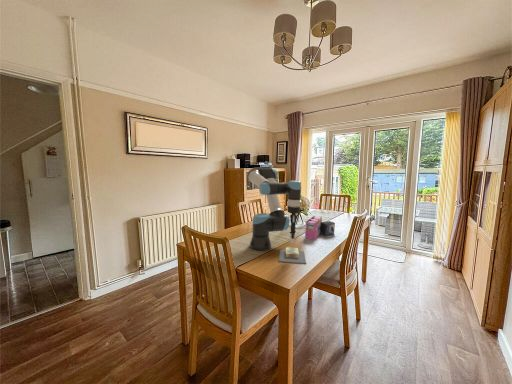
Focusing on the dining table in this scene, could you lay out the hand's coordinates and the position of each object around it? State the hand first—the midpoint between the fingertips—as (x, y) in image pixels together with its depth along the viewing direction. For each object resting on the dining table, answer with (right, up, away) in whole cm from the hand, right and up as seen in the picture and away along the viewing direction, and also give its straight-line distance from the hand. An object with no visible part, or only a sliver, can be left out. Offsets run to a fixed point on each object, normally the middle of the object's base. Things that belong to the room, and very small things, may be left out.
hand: (292, 242), depth 134 cm
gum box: (+26, -5, +45) cm, 52 cm away
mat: (0, -9, +2) cm, 9 cm away
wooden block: (0, -8, -1) cm, 8 cm away
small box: (+38, -4, +47) cm, 61 cm away
